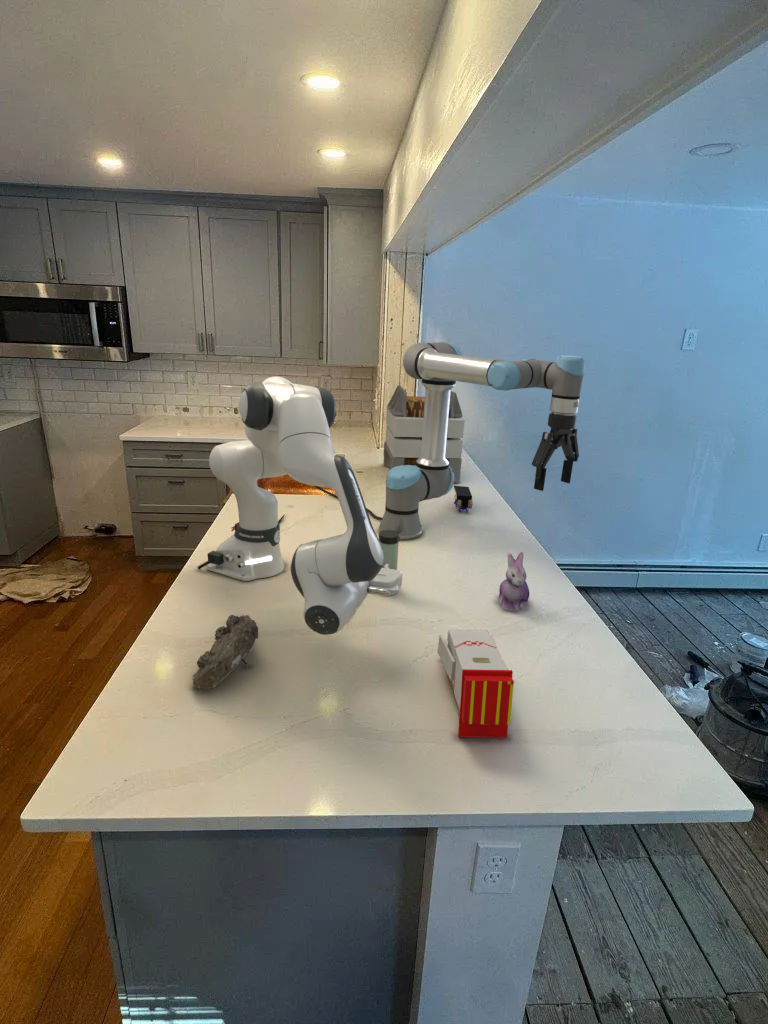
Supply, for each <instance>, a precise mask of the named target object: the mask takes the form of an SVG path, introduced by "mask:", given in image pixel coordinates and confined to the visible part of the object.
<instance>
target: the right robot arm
mask: <svg viewBox="0 0 768 1024" xmlns="http://www.w3.org/2000/svg"><path fill="white" fill-rule="evenodd" d="M585 365H586V360H585V358H584V357H582V356H578V355H566V354H565V355H564V354H563V355H558V356H557V357H556V360H555V361H549V360H541V359H536V358H524V359H521V360H506V359H505V360H504V359H503V360H502V359H496V358H487V357H479V356H471V355H464V354H463V352H462V350H461V349H460V347H459V346H457V345H456V344H455V343H451V342H445V341H443V342H442V341H441V342H440V341H439V342H438V341H437V342H417V343H414V344H412V345H411V346H409V347H408V348H407V350H406V351H405V353H404V355H403V358H402V366H403V369H404V372H405V373H406V374H407V375H408V376H409V377H411V378H412V379H415V380H421V385H422V386H423V387H424V389H425V392H424V397H425V404H424V419H423V434H422V449H421V457H420V458H418V459H417V461H416V466H413V465H401V466H396V467H394V468H392V469H390V468H389V470H388V472H387V474H386V479H385V504H384V505H385V507H384V508H385V509H384V513H383V515H382V517H381V516H377V515H376V514H375V513H373V511H372V510H370V509H369V508H368V507H366V509H367V512H368V514H370V516H371V517H373V518H374V519H376V520H379V521H381V522H379V526H378V533H379V532H380V531H383V530H394V531H397V532H399V534H400V541H410V540H415V539H418V538H420V537H421V536H422V535H423V525H422V524H421V518H420V515H419V507H420V506H419V505H420V502H423V501H427V500H431V499H437V498H440V497H443V496H446V495H448V493H450V492H451V490H452V489H453V488H454V484H455V483H454V473H452V469H451V467H450V466H449V462H448V461H447V459H446V458H445V453H446V441H447V428H448V416H449V404H450V392H451V391H452V389H453V388H454V387H455V386H456V384H457V382H461V383H465V384H473V385H479V386H487V387H491V388H492V389H494V390H496V391H503V392H504V391H511V390H520V389H532V388H533V389H534V388H539V389H546V390H551V398H550V404H549V413H548V418H547V419H548V420H547V426H548V427H549V428H550V431H549V432H548V431H543V432H542V435H541V440H540V442H539V445H538V447H537V449H536V452H535V454H534V457H533V460H532V461H531V466H533V467H535V475H534V477H535V478H534V485H533V489H534V490H537V491H539V492H543V491H544V489H545V484H546V483H545V482H546V476H547V468H546V466H547V465H548V463H549V461H550V459H551V457H552V456H553V454H554V453H555V451H556V450H557V449H558V448H560V447H561V449H562V452H563V455H564V458H565V459H563V463H562V468H561V469H562V470H561V475H560V482H562V483H566V484H571V478H572V472H573V466H574V463H576V462H578V461H579V457H580V453H579V444H578V428H576V423H577V419H578V416H577V414H578V412H579V411H578V410H579V406H580V397H581V391H582V385H583V380H584V376H585ZM313 487H314V488H316V489H317V490H320V491H321V492H323V493H324V494H327V495H329V496H330V497H331V496H332V497H333V498H336V499H338V496H337V494H336V493H335V494H334V493H332V492H331V491H328V490H326V489H324V488H323V487H319V486H313Z"/></svg>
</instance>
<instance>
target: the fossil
mask: <svg viewBox="0 0 768 1024" xmlns="http://www.w3.org/2000/svg"><path fill="white" fill-rule="evenodd" d="M258 639H259V627H258V625H257V622H256V621H255V619H252V618H251V617H250V616H249V615H248V614H244V615H243V614H242V615H240V616H238V615H235V614H230V615H228V617H227V620H226V621H225V626H224V625H223V626H219V627H217V628H216V629H215V631H214V642H213V644H212V645H211V648H210V649H209V650H207V651H205V652H204V653H203V654H201V655H200V656H199V657H198V659H197V661H196V666H197V668H198V670H197V671H196V672H195V673H193V675H192V676H193V678H192V683H193V688H195V689H198V690H200V691H203V690H207V689H211V688H212V689H214V688H216V687H217V686H218V685H219V684H220V683H221V682H222V681H224V680H225V679H226V678H227V677H228V676H229V675H230V674H231V673H232V672H233V671H234V670H236V668H237V667H238V664H239V663H241V662H242V663H243V664H244V665H245V666H248V665H249V664H248V662H247V661H246V659H244V658H245V656H246V655H247V654H249V653H250V652H251V650H252V649H253V646H254V645H255V643H256V641H257V640H258Z"/></svg>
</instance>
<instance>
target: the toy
mask: <svg viewBox="0 0 768 1024" xmlns="http://www.w3.org/2000/svg"><path fill="white" fill-rule="evenodd" d="M446 640H447V643H446V641H445V639H444V636H443V635H442V634H439V637H438V646H437V656H438V657H439V659H440V661H441V663H442V666H443V668H444V670H445V672H446V674H447V677H448V679H449V681H450V684H451V687H452V690H453V693H454V697H455V701H456V705H457V708H458V711H459V714H458V715H459V716H458V730H457V731H458V732H457V737H458V738H508V731H509V726H510V725H511V717H512V707H513V697H514V696H513V695H514V684H515V680H514V679H513V673H514V671H513V670H512V669H508V667H507V665H506V662H505V661H504V659H503V658H502V655H501V653H500V651H499V649H498V647H497V643H496V639H495V637H494V635H493V634H491V632H490V631H489V629H467V628H466V629H465V628H463V629H461V628H460V629H459V628H448V630H447V639H446Z"/></svg>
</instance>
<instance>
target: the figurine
mask: <svg viewBox="0 0 768 1024" xmlns="http://www.w3.org/2000/svg"><path fill="white" fill-rule="evenodd" d="M506 556H507V569H506V571H505V579H504V580H502V581H501V583H500V585H499V591H498V592H499V593H498V597H497V598H498V600H497V601H498V604H499V605H500V606H501V607H502V609H503V610H505V611H507V612H508V611H509V612H518V611H520V610H521V611H522V610H524V609H525V608H526V607H527V605H528V601H529V599H530V588H529V585H528V584H527V581H526V580H527V571H526V570H525V567H524V552H523V551H520V552H519V553H518V555H517V557H516V559H515V557H514V556H513V554H512V553H511V552H508V553H507V555H506Z"/></svg>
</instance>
